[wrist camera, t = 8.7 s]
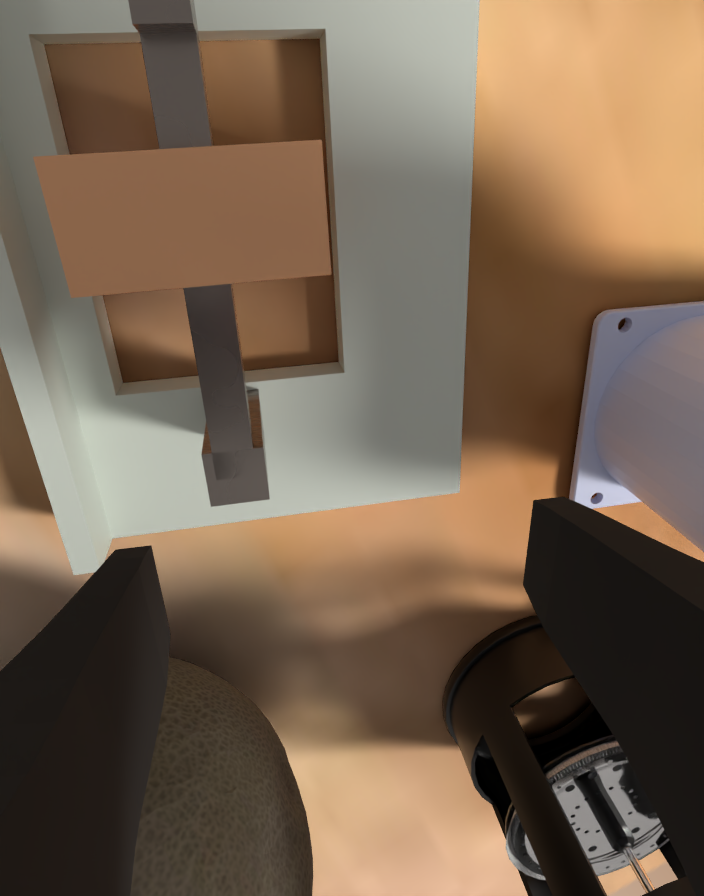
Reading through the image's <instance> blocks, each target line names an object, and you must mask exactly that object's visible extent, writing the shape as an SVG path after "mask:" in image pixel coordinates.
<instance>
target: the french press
mask: <svg viewBox="0 0 704 896" xmlns="http://www.w3.org/2000/svg"><path fill="white" fill-rule="evenodd" d="M570 678H575V676H574V675H573V673H572V671H571V670H570V668H569V667H568V665H567V664H566V662H565V661H564V659H563V658H562V656H561V655H560V653H559V652H558V650H557V648H556V647H555V645H554V644H553V642H552V641H551V639H550V638H549V636H548V634H547V633H546V631H545V630H544V628H543V626H542V624H541V622H540V620H539V618H538V616H532V617H528V618H525V619H523V620H520V621H517V622H514V623H511V624H509V625H507V626H506V627H504V628H502V629H500V630H498V631H496V632H494V633H492V634H491V635H490V636H488V637H487V638H485V639H484V640H483V641H481V642H480V643H479V644H477V645H476V646H475V647H474V648H473V649H472V650H471V651H470V652H469V653H468V654H467V655H466V656H465V657H464V658H463V659H462V660H461V662H460V663H459V664H458V666H457V667H456V669H455V670H454V671H453V673H452V675H451V677H450V679H449V681H448V683H447V685H446V689H445V693H444V698H443V716H444V719H445V722H446V725H447V728H448V731H449V733H450V734H451V736H452V737H453V739H454V740H455V741H456V743H457V744H458V745H459V747H460V750H461V752H462V755H463V758H464V760H465V763H466V765H467V768H468V771H469V773H470V776H471V779H472V781H473V784H474V786H475V788H476V790H477V791H478V792H479V794H480V795H481V796H482V797H483V798H484V799H485V800H487V801H488V802H489V803H491V804H492V806H493V808H494V811H495V813H496V816H497V818H498V821H499V823H500V826H501V828H502V831H503V833H504V836H505V838H506V850H507V853H508V856H509V859H510V860H511V862H512V863H513V864H514V866H515V867H516V868H517V869H518V871H519V874H520V876H521V879H522V881H523V884H524V886H525V889H526V891H527V894H528V896H607V895H606V893H605V891H604V889H603V887H602V885H601V883H600V881H599V879H598V877H597V876H601V875H604V874H608V873H610V872H613V871H616V870H619V869H621V868H624V867H626V866H628V865H630V866H631V867H632V869H633V871H634V873H635V874H636V876H637V878H638V880H639V882H640V883H641V885H642V887H643V889H644V890H645V892H646V894H644V895H642V896H696V894H695V892H694V890H693V888H692V885H691V883H690V881H689V879H688V877H687V875H686V873H685V870H684V868H683V866H682V864H681V862H680V860H679V858H678V856H677V854H676V852H675V850H674V848H673V846H672V844H671V842H670V840H669V838H668V836H667V834H666V832H665V830H664V828H663V826H662V824H661V822H660V820H659V818H658V816H657V814H656V812H655V810H654V808H653V806H652V804H651V802H650V801H649V799H648V797H647V795H646V793H645V791H644V789H643V787H642V786H641V784H640V782H639V780H638V778H637V776H636V774H635V772H634V770H633V769H632V767H631V765H630V763H629V761H628V759H627V757H626V755H625V754H624V752H623V750H622V749H621V747H620V745H619V744H618V742H617V740H616V739H615V737H614V735H613V734H612V732H611V730H610V729H609V727H608V726H607V724H606V723H605V721H604V720H603V718H602V717H601V715H600V714H599V712H598V711H597V709H596V708H595V706H594V705H593V703H591V704H590V705H589V706H588V707H587V708H586V710H585V711H584V712H583V713H582V714H580V715H579V716H578V717H577V718H576V719H575V720H573V721H572V722H570V723H569V724H567V725H566V726H564V727H563V728H561V729H559V730H557V731H555V732H553V733H550V734H547V735H545V736H542V737H539V738H534V739H530V740H528V739H527V737H526V735H525V733H524V731H523V729H522V727H521V725H520V723H519V721H518V719H517V717H516V715H515V713H514V711H513V709H512V707H513V706H515V705H516V704H518V703H519V702H520V701H522V700H523V699H525V698H526V697H528V696H529V695H531V694H533V693H535V692H537V691H539V690H541V689H543V688H545V687H547V686H549V685H552V684H555V683H558V682H560V681H563V680H566V679H570ZM657 849H660V851H661V852H662V854H663V855H664V857H665V859H666V860H667V862H668V863H669V865H670V866H671V868H672V870H673V872H674V873H675V875H676V876H677V878H678V880H676V881H673V882H670V883H667V884H665V885H663V886H661V887H659V888H657V889H655V888H654V886H653V885H652V883H651V881H650V879H649V878H648V876H647V874H646V872H645V871H644V869H643V867H642V865H641V864H640V862H639V860H641V859H643V858H644V857H646V856H647V855H649V854H651V853H652V852H654V851H655V850H657Z"/></svg>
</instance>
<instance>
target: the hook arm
mask: <svg viewBox="0 0 704 896" xmlns="http://www.w3.org/2000/svg"><path fill="white" fill-rule="evenodd" d="M128 2H129V8H130V14H131V19H132V24H133V26H134V27H135V28H136V30H137V31H138V32H139V34H140V38H141V44H142V50H143V56H144V62H145V68H146V73H147V79H148V85H149V91H150V97H151V102H152V108H153V114H154V120H155V126H156V132H157V137H158V143H159V149H171V148H188V147H205V146H214V145H213V137H212V130H211V123H210V115H209V108H208V100H207V93H206V86H205V78H204V71H203V63H202V56H201V49H200V41H199V34H198V26H197V19H196V11H195V4H194V0H128ZM183 289H184V294H185V300H186V306H187V312H188V318H189V324H190V329H191V335H192V341H193V347H194V353H195V358H196V364H197V370H198V376H199V382H200V388H201V393H202V399H203V405H204V411H205V417H206V425H205V432H204V439H203V446H202V454H201V455H202V461H203V466H204V472H205V477H206V483H207V488H208V494H209V499H210V505H211V507H214V506H222V505H230V504H238V503H246V502H253V501H261V500H269V499H270V496H269V485H268V473H267V462H266V451H265V440H264V430H263V422H262V414H261V406H260V398H259V390H258V389H255V390H247V389H246V382H245V375H244V367H243V360H242V352H241V345H240V338H239V330H238V323H237V315H236V308H235V300H234V293H233V286H232V284H222V285H211V286H200V287H189V288H183Z"/></svg>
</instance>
